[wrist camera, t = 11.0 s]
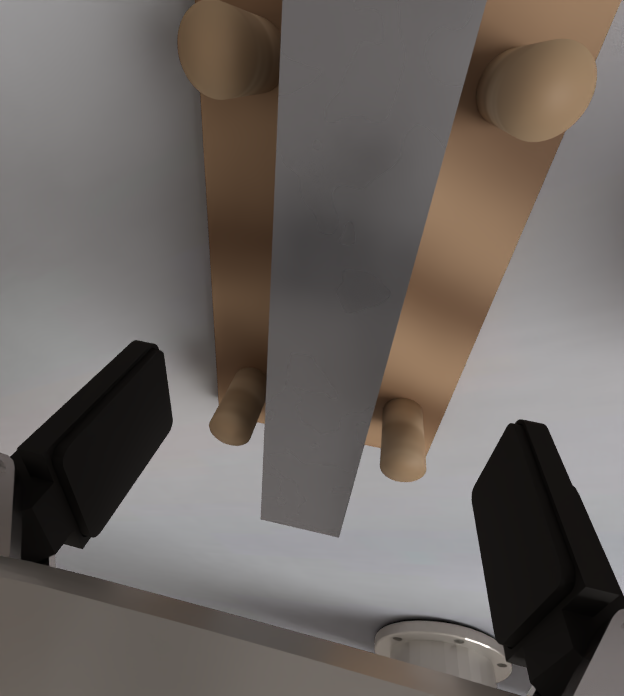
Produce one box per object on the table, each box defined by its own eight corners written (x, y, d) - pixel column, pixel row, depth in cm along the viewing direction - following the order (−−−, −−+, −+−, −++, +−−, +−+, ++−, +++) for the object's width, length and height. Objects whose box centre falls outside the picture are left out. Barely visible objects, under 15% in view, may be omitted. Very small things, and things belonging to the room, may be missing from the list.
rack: (424, 441, 23) (429, 514, 19) (226, 400, 24) (193, 462, 20) (618, -33, 11) (735, -89, 7) (206, -73, 12) (116, -139, 8)
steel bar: (333, -5, 11) (285, -60, 7) (454, 8, 11) (497, -39, 6) (291, 421, 22) (260, 519, 17) (352, 434, 22) (338, 537, 17)
